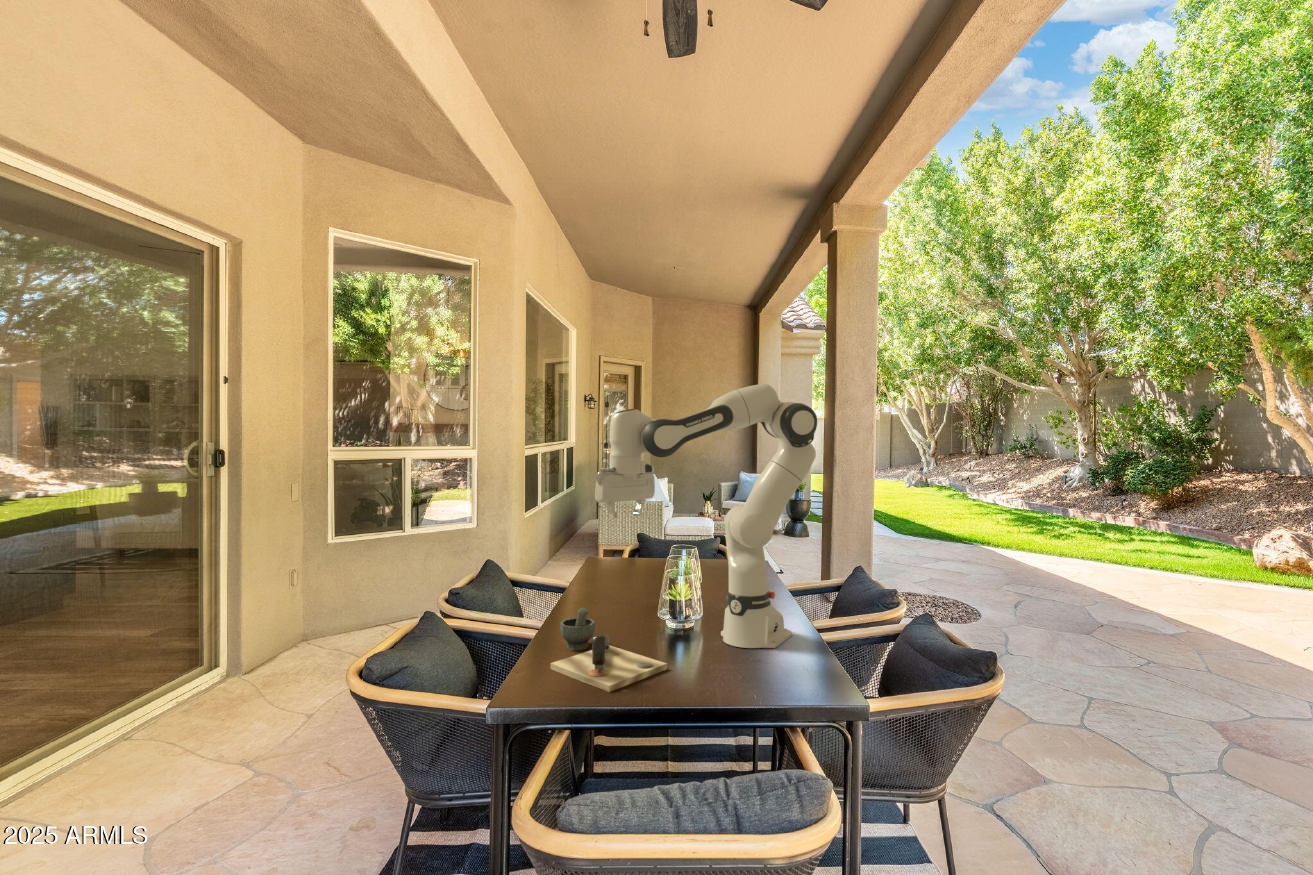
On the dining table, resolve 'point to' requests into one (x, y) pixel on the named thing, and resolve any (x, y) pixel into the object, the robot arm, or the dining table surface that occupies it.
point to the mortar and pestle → (578, 630)
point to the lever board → (609, 668)
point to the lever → (599, 649)
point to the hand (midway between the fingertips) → (625, 517)
